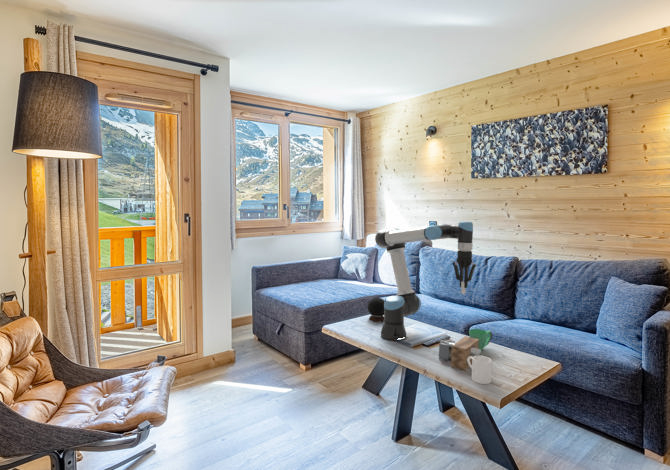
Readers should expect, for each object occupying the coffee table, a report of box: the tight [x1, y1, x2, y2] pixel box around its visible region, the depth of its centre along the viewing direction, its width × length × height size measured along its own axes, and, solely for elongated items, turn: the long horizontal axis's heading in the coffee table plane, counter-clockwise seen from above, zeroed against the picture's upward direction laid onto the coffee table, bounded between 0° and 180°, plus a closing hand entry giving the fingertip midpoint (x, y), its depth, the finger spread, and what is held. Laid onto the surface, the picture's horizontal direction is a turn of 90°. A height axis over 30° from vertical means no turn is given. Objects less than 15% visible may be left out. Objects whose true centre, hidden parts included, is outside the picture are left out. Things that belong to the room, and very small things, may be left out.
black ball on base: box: [367, 297, 385, 323], centre depth 266 cm, size 13×13×15 cm
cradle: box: [438, 339, 456, 362], centre depth 200 cm, size 5×8×8 cm, turn 141°
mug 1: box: [468, 328, 493, 352], centre depth 213 cm, size 15×10×10 cm
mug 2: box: [467, 355, 493, 385], centre depth 177 cm, size 8×12×10 cm
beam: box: [450, 335, 479, 372], centre depth 194 cm, size 7×18×10 cm, turn 142°
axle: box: [439, 339, 482, 356], centre depth 196 cm, size 20×4×4 cm, turn 52°
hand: (463, 293), depth 213 cm, fingers closed
